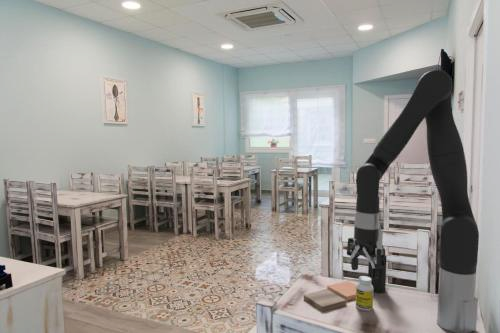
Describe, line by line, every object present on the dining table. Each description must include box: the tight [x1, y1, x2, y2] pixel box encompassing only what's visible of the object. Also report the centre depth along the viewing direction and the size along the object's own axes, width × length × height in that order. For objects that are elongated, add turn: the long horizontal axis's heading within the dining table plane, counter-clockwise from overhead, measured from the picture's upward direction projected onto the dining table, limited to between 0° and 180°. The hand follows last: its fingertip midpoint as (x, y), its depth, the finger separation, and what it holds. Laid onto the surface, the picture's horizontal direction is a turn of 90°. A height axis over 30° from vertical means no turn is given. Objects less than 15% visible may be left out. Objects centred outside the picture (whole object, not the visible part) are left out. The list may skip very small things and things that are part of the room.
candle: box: [367, 222, 387, 294], centre depth 130 cm, size 5×5×25 cm
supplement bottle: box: [355, 275, 374, 311], centre depth 117 cm, size 5×5×10 cm
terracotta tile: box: [326, 280, 357, 302], centre depth 129 cm, size 10×10×2 cm
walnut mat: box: [303, 288, 347, 312], centre depth 122 cm, size 10×10×2 cm
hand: (364, 274), depth 117 cm, fingers open, 8 cm apart
